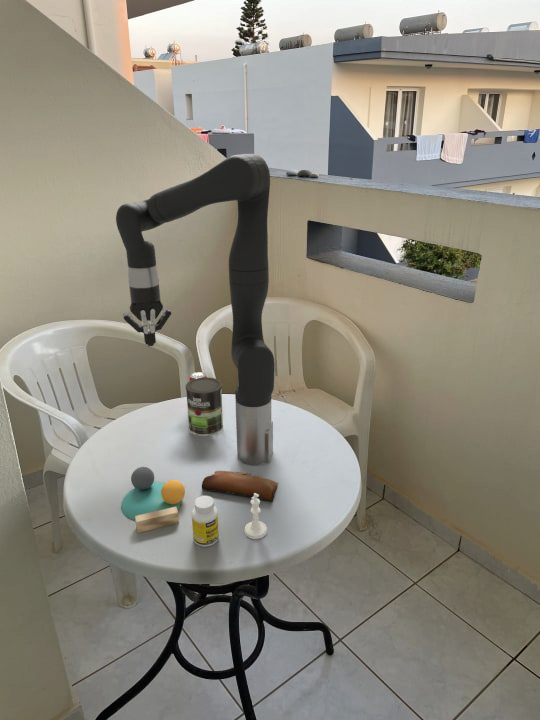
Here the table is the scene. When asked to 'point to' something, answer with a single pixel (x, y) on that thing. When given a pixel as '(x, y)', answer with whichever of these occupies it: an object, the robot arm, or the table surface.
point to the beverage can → (197, 375)
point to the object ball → (173, 492)
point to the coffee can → (204, 406)
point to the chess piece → (255, 521)
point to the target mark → (145, 501)
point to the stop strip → (157, 519)
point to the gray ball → (142, 478)
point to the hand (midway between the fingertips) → (150, 345)
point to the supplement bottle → (205, 522)
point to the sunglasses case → (241, 484)
